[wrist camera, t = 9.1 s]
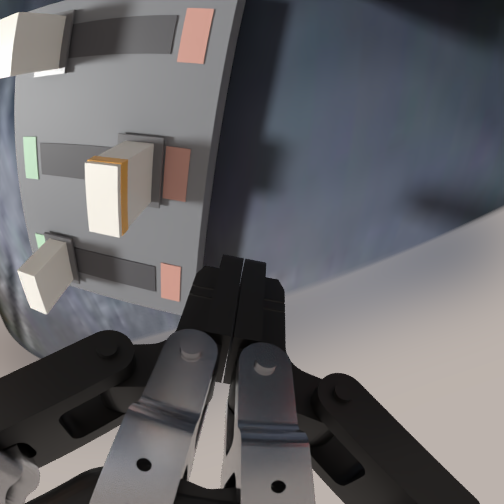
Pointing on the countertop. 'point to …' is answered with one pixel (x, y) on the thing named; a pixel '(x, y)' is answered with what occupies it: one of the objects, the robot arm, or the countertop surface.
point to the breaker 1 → (35, 43)
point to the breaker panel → (129, 122)
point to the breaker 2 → (49, 272)
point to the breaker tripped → (123, 183)
